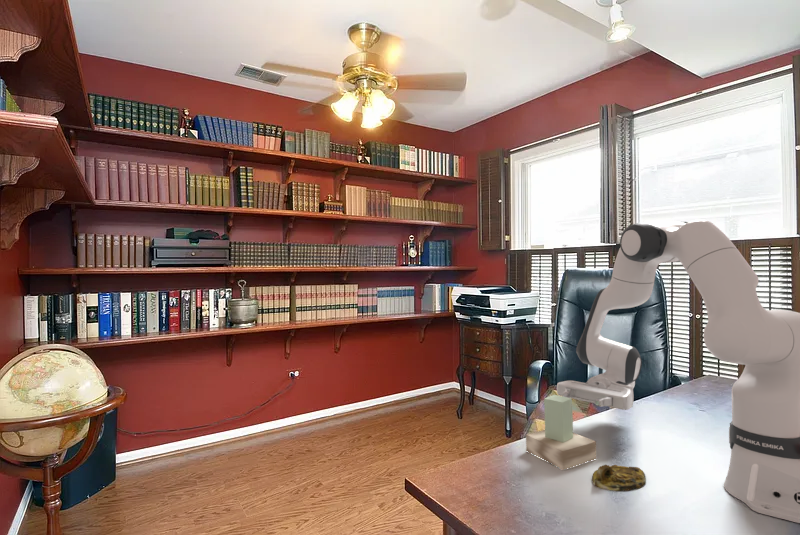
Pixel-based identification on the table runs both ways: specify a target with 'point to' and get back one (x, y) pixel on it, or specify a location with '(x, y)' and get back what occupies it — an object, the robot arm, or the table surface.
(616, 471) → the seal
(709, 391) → the table surface
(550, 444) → the plinth
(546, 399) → the green block
